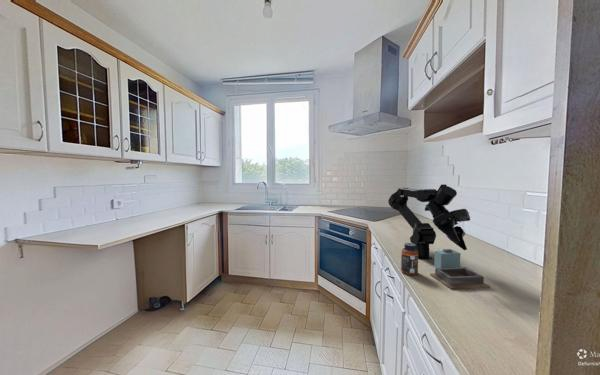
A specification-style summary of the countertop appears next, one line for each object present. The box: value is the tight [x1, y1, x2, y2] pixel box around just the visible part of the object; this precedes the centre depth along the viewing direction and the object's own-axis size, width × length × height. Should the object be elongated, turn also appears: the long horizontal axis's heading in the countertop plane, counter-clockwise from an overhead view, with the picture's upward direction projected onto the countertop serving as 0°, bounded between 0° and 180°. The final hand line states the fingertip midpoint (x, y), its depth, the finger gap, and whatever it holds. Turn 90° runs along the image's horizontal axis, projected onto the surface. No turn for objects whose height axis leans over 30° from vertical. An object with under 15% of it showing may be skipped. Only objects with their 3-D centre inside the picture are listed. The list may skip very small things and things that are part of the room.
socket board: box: [429, 267, 491, 290], centre depth 84 cm, size 11×14×3 cm
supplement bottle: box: [400, 242, 419, 276], centre depth 91 cm, size 6×6×11 cm
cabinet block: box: [433, 248, 461, 269], centre depth 95 cm, size 4×8×8 cm, turn 95°
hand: (462, 246), depth 86 cm, fingers open, 9 cm apart
